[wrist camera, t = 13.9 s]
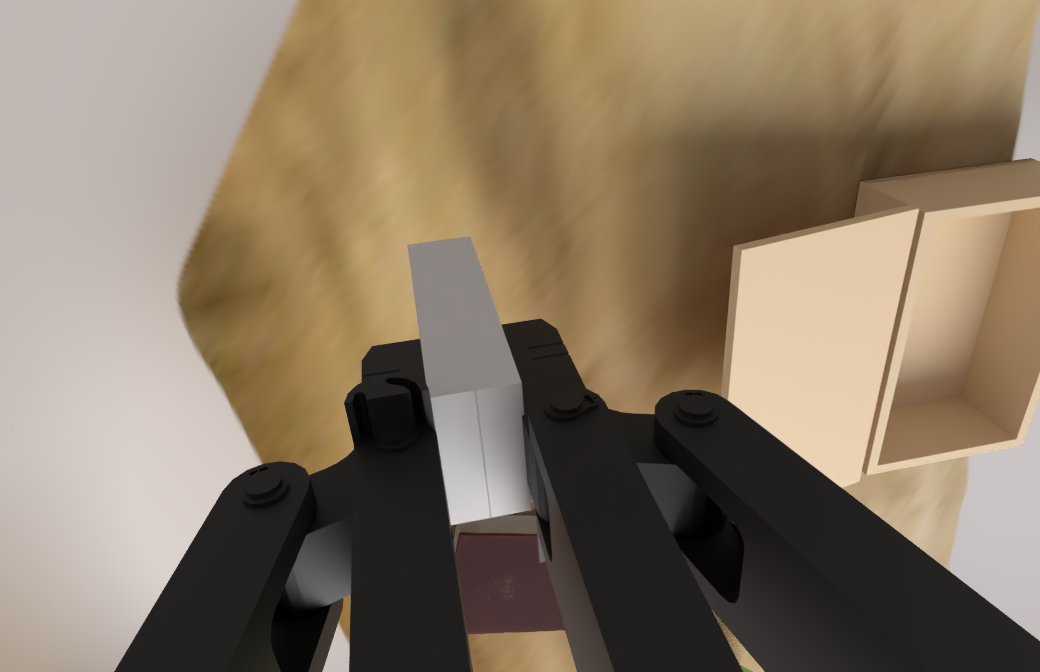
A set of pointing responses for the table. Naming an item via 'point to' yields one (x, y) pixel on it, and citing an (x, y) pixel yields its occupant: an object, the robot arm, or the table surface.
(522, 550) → the book
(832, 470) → the lid
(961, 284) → the open box
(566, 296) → the table surface
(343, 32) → the table surface
